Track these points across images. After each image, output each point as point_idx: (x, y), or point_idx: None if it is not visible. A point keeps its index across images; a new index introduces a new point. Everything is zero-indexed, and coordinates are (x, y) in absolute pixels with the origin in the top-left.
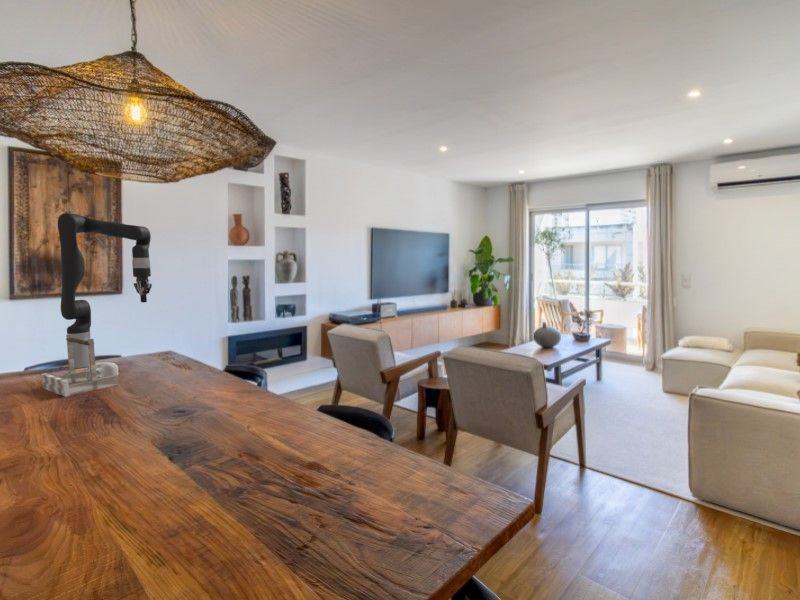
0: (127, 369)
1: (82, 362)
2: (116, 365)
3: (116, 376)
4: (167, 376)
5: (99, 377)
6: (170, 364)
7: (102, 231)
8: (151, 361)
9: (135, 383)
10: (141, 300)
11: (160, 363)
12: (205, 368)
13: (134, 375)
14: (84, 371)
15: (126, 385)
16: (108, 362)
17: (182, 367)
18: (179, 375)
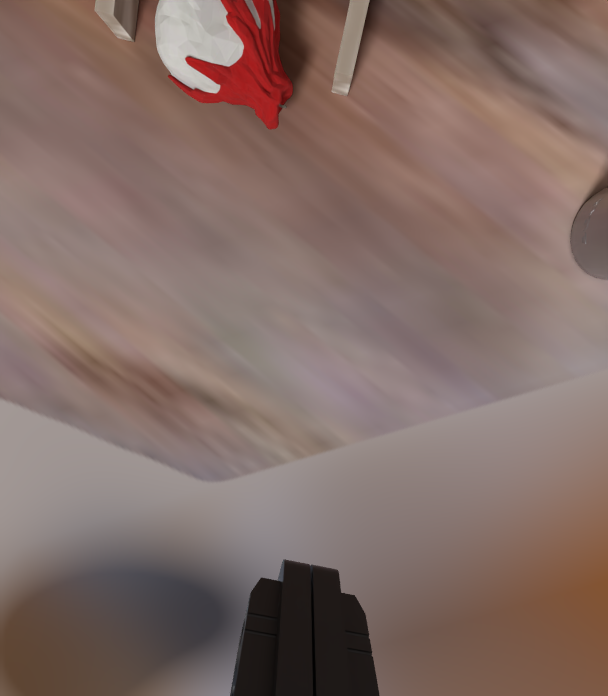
0: (334, 261)
1: (597, 207)
2: (163, 51)
3: (98, 3)
4: (41, 224)
5: None
6: (224, 394)
7: None
8: (361, 410)
9: (62, 78)
10: (305, 584)
11: (286, 394)
12: (12, 386)
13: (200, 187)
14: (348, 9)
15: (67, 36)
16: (187, 11)
17: (123, 368)
18: (7, 255)
